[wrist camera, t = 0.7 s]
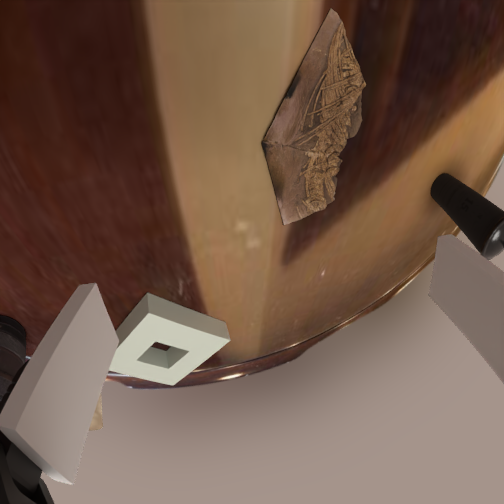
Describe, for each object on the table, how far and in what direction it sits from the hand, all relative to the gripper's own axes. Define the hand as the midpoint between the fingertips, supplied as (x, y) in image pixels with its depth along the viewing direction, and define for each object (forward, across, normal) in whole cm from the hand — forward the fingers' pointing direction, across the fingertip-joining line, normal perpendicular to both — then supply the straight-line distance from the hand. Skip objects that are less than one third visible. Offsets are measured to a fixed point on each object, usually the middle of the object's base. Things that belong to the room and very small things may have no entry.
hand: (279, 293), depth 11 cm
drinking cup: (+31, +31, -5) cm, 44 cm away
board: (+28, -16, -24) cm, 40 cm away
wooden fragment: (+24, +8, +5) cm, 26 cm away
